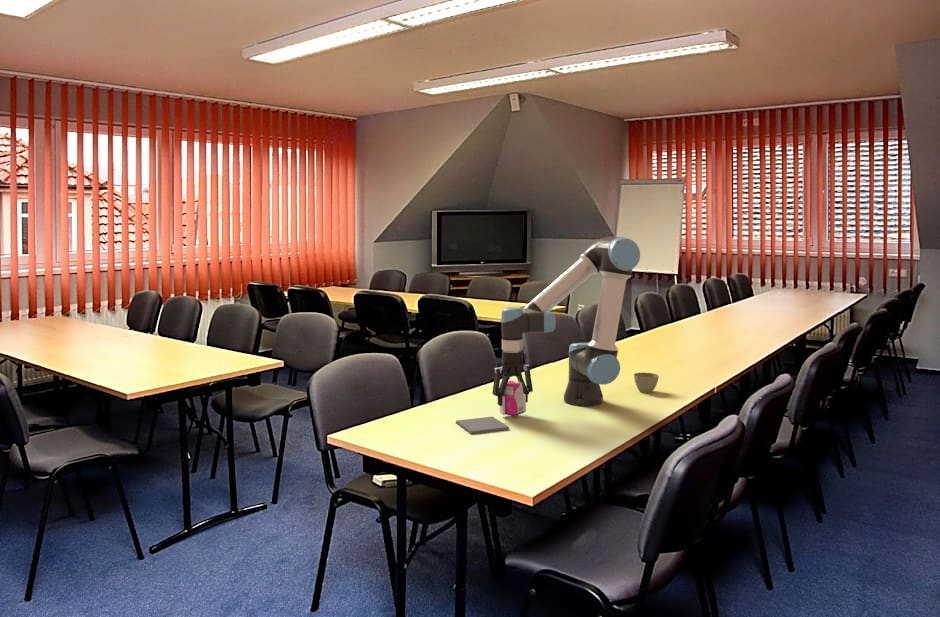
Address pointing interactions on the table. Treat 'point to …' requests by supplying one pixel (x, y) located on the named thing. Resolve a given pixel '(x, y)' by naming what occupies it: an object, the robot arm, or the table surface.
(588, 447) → the table surface
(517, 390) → the supplement box
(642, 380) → the flower pot
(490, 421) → the gray mat
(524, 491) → the table surface
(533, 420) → the table surface
